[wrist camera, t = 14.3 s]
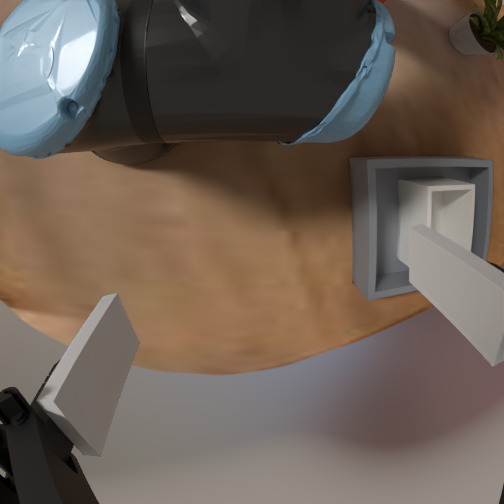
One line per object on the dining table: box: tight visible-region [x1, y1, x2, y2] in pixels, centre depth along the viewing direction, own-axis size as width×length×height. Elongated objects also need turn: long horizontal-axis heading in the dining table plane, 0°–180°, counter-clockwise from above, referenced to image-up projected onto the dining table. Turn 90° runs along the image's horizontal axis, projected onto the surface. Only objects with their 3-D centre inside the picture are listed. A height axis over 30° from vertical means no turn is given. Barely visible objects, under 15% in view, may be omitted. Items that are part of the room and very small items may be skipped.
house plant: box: [449, 0, 504, 60], centre depth 23 cm, size 14×14×16 cm
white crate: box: [397, 177, 475, 267], centre depth 35 cm, size 11×8×7 cm
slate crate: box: [349, 156, 493, 301], centre depth 36 cm, size 17×21×6 cm
